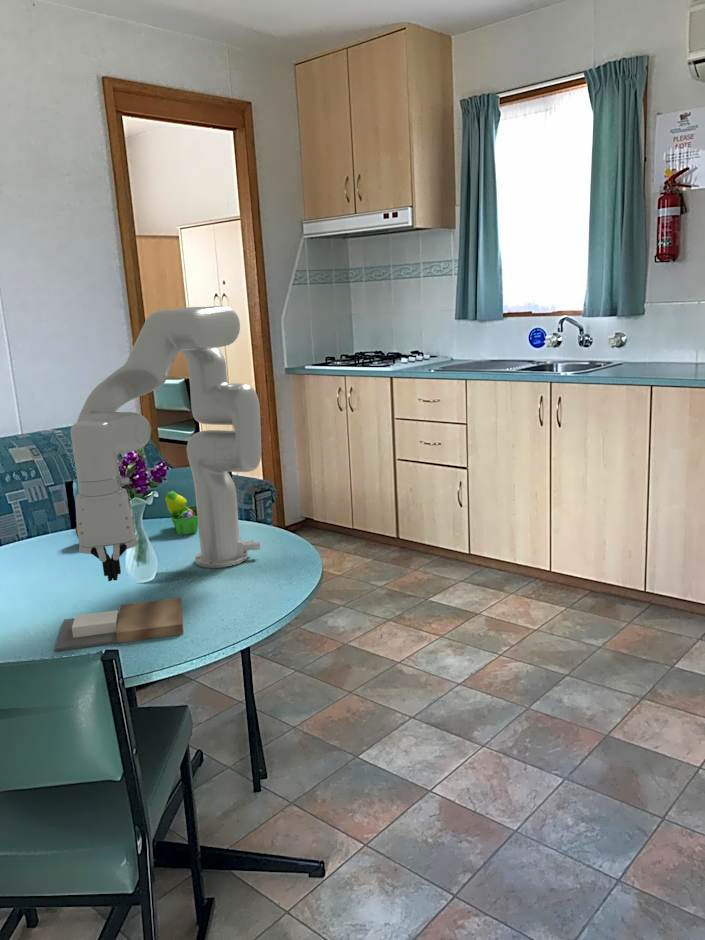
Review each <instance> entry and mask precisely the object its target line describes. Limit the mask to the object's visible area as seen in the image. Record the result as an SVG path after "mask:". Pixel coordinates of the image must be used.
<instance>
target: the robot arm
mask: <svg viewBox="0 0 705 940" xmlns="http://www.w3.org/2000/svg"><path fill="white" fill-rule="evenodd" d="M240 331H241V322H240V318H239V316H238V314H237V313H236V311H235V310H234V309H233V308H231V307H229V306H227V305H219V306H218V305H216V306H215V305H214V306H191V307H190V306H189V307H180V308H176V309H175V308H174V309H161V310H160V309H159V310H156V311H153V312H152V313H151V314H149V315H148V317H147V318H146V319H145V321H144V323H143V326H142V327H141V330H140V332H139V334H138V337H137V339H136V341H135V342H134V345H133V346H132V348H131V350H130V353H129V355H128V357H127V360H126V362H125V363H124V364H123V365H122V366H121V367H119V368H118V369H116V370H114V372H112V373H111V374H109V376H107V377H106V378H105V379H104V380H102V381H101V382H100V383H99V384H98V385H96V386H95V388H94V389H92V391H91V392H90V394H89V395H88V397H87V398H86V400H85V402H84V404H83V406H82V409H81V410H80V413H79V416H78V418H77V421H76V423H75V422H74V424H73V425H72V426H71V428H70V431H69V432H70V439H71V445H72V453H73V459H74V466H75V471H76V477H77V485H78V486H77V487H78V494H76V496H75V497H76V500H75V518H76V519H75V521H76V527H77V532H78V537H77V539H78V544H79V547H78V552H79V553H80V554H84V555H85V554H87V555H92V556H94V557H95V558H97V559H98V560H99V561H100V562H101V563H102V564H101V565H102V569H103V576H104V577H107V581H108V582H112V581H114V582H115V581H118V576H119V575H121V573H122V572H121V571H122V569H121V563H120V558H121V557H122V555H123V554H124V553H125V552H126V550H129V549H132V548H135V547H137V546H138V544H139V543H138V542H139V541H138V539H137V536H136V534H135V533H136V526H135V521H134V515H133V510H132V506H131V501H130V497H129V494H128V492H127V491H128V490H127V489H126V488H122V487H124V486H126V485H129V484H130V483H129V482H130V481H129V480H130V479H129V477H128V476H122V475H121V473H120V469H119V460H118V455H120V454H125V453H130V452H136V451H139V450H141V449H142V448H144V447H145V446H146V445H147V444H148V443H149V441H150V439H151V435H152V428H151V424H150V422H149V420H148V418H146V416H144V415H142V414H140V413H137V412H131V411H117V410H119V409H120V408H121V407H122V406H124V405H125V404H127V403H129V402H130V401H132V400H134V399H137V398H141V397H142V396H144V395H147V394H149V393H152V392H153V391H155V390H157V389H159V388H161V387H162V386H164V384H165V383H166V381H167V379H168V376H169V374H170V371H171V369H172V367H173V364H174V362H175V360H176V357H177V355H178V354H179V352H181V353H182V354H183V356H184V358H185V359H186V362H187V366H188V373H189V389H190V390H189V391H190V393H189V394H190V406H191V413H192V416H193V419H194V420H195V421H196V422H198V423H199V424H203V425H213V426H215V425H216V426H217V425H219V426H220V425H221V426H225V425H226V426H233V429H234V430H219V429H217V430H216V429H215V430H213V429H212V430H211V429H210V430H209V429H207V430H202V431H198V432H196V433H194V434H192V436H190V438H189V439H188V441H187V444H186V455H187V456H186V457H187V460H188V463H189V467H190V470H191V474H192V478H193V485H194V486H193V487H194V492H195V493H194V494H195V504H196V505H195V506H197V517H198V534H199V536H198V537H199V546H200V552H199V553H198V554H196V555H195V557H194V563H195V565H197V566H199V567H202V568H209V569H217V568H218V569H219V568H228V566H229V567H233V566H236V564H237V565H239V564H242V563H243V561H244V562H245V561H247V559H248V558H249V554H248V553H249V552H248V551H258V550H261V545H260V541H254V539H253V540H248V541H244V540H242V537H241V535H240V523H239V512H238V501H237V500H238V499H237V489H236V485H235V482H234V480H233V478H232V476H231V475H230V473H250V472H253V471H255V470H256V469H257V468H258V467H259V465H260V463H261V461H262V460H261V458H262V429H261V426H262V425H261V423H262V422H261V408H260V407H261V406H260V401H259V396H258V394H257V392H256V390H255V389H254V388H253V387H252V386H251V385H249V384H247V383H246V384H245V383H239V382H238V383H229V382H228V374H227V363H226V362H227V361H226V360H225V359H226V358H225V357H224V355H223V353H222V351H221V350H220V348H221V347H227V346H230V345H231V344H233V343H235V341H236V340H237V339H238V337H239V334H240ZM229 472H230V473H229ZM109 546H112V554H111V556H110V554H108V552H107V548H106V547H109ZM247 557H248V558H247ZM241 562H242V563H241ZM232 565H233V566H232Z"/></svg>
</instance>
